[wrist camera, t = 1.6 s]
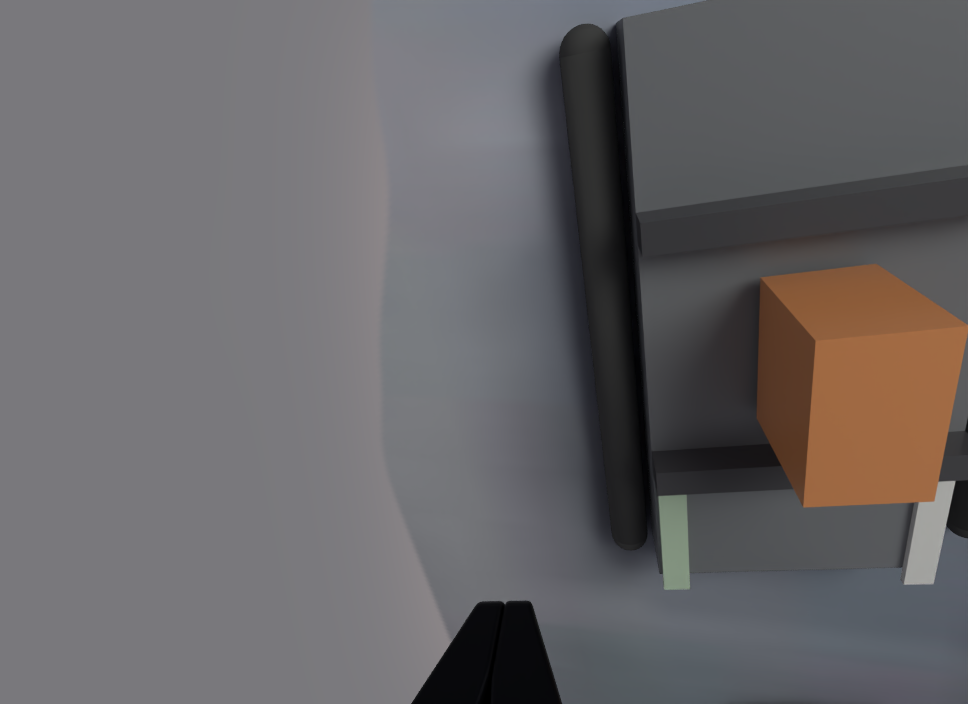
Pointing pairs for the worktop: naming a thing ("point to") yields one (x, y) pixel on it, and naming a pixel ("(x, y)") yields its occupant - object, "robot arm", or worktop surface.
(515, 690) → the robot arm
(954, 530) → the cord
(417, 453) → the worktop surface
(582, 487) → the worktop surface
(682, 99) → the panel
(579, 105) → the dark grey rod
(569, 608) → the worktop surface
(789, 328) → the orange block
